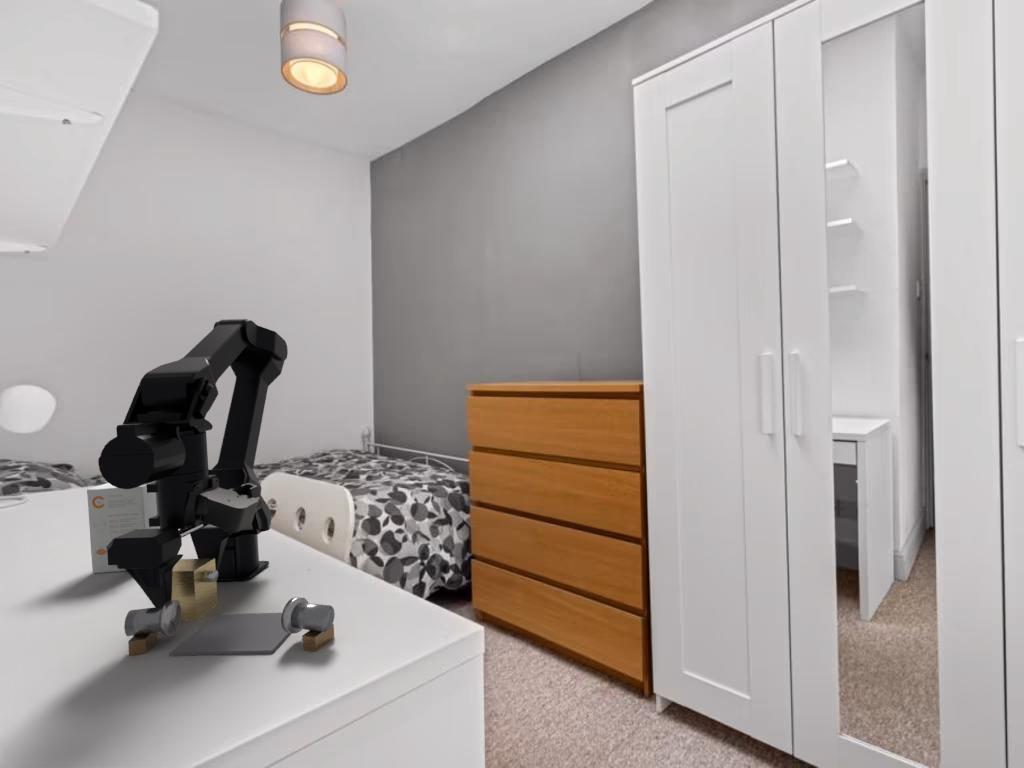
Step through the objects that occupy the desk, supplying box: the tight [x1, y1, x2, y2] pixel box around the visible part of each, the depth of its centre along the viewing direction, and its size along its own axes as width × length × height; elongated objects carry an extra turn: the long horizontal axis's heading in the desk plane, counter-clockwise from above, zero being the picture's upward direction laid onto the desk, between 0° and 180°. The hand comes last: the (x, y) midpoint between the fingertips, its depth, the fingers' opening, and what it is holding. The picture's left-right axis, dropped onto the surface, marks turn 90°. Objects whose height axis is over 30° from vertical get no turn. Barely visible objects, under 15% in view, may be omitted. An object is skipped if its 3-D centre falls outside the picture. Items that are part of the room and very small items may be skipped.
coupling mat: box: [169, 612, 291, 656], centre depth 62 cm, size 9×11×1 cm
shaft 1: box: [124, 600, 182, 656], centre depth 60 cm, size 4×4×5 cm
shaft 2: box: [281, 596, 335, 652], centre depth 59 cm, size 4×4×5 cm
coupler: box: [171, 558, 218, 621], centre depth 68 cm, size 4×7×6 cm, turn 88°
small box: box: [86, 481, 160, 574], centre depth 87 cm, size 8×6×13 cm
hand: (189, 596), depth 69 cm, fingers open, 9 cm apart
